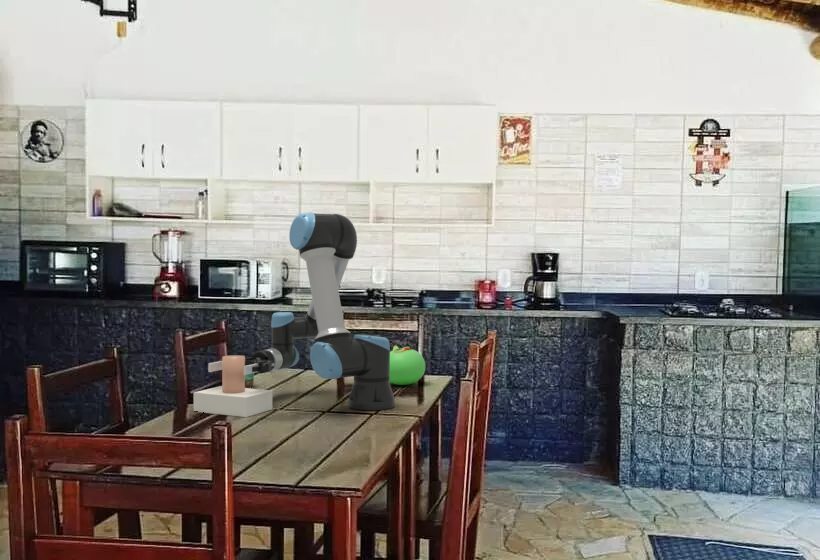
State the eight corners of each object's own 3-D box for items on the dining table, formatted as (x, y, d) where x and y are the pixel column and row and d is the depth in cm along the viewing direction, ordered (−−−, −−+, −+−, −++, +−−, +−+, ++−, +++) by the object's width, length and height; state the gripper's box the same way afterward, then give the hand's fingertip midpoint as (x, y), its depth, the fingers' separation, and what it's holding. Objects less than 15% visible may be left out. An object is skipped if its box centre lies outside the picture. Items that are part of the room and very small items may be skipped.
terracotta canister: (249, 390, 263) (249, 356, 263) (235, 393, 257) (235, 358, 257) (231, 389, 266) (231, 354, 266) (217, 392, 260) (217, 357, 260)
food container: (248, 390, 299) (248, 363, 298) (232, 390, 300) (232, 362, 299) (261, 385, 311) (261, 358, 310) (246, 384, 312) (246, 358, 312)
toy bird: (409, 389, 302) (409, 349, 301) (370, 385, 310) (370, 346, 310) (433, 383, 317) (433, 345, 317) (395, 379, 326) (395, 342, 325)
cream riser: (272, 409, 264) (272, 390, 264) (246, 417, 251) (245, 397, 251) (221, 404, 273) (221, 385, 272) (193, 411, 260) (193, 392, 260)
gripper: (297, 374, 273) (259, 384, 253) (235, 369, 283) (195, 378, 264) (297, 352, 272) (259, 359, 253) (235, 347, 283) (194, 354, 264)
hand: (226, 369), depth 258 cm, fingers open, 13 cm apart
